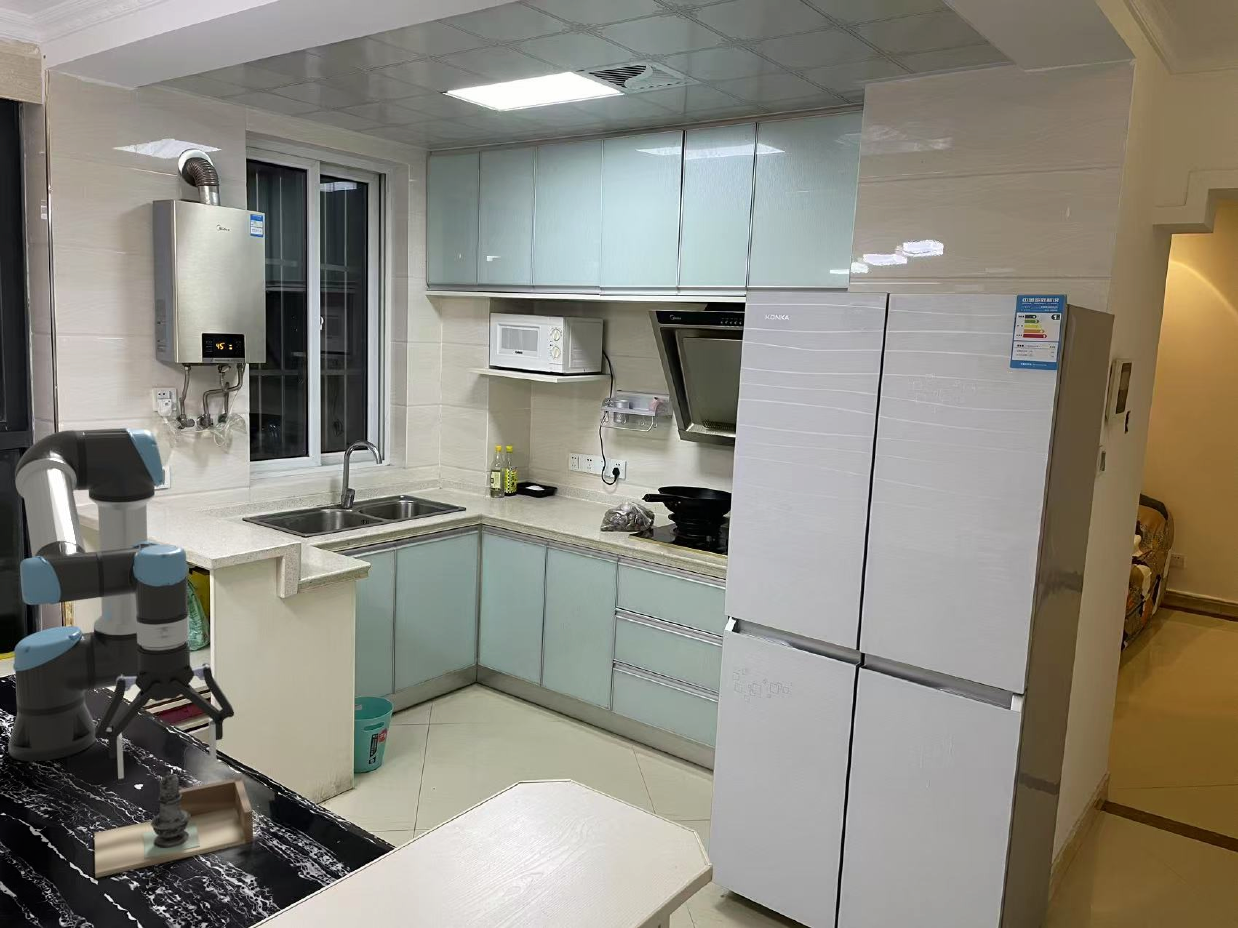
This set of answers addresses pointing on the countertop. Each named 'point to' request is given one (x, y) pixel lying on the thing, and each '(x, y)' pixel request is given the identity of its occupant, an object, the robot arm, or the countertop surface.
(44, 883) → the countertop surface
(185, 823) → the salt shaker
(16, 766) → the countertop surface
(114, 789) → the countertop surface
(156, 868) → the countertop surface
